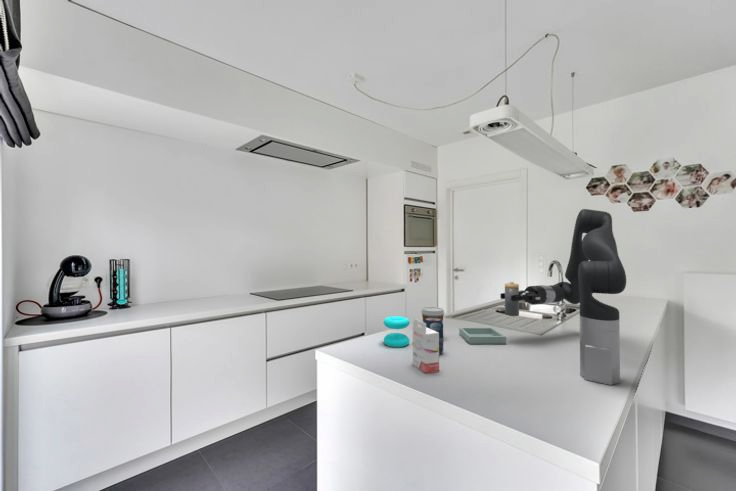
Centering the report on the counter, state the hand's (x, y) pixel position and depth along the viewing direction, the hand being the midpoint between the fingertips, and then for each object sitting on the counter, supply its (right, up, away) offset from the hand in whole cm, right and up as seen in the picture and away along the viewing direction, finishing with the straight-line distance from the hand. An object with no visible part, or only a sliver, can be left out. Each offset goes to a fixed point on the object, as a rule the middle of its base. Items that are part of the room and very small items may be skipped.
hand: (506, 297), depth 124 cm
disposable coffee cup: (-27, -18, +7) cm, 34 cm away
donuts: (-43, -18, -1) cm, 47 cm away
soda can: (-31, -18, -11) cm, 37 cm away
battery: (+3, -7, +1) cm, 7 cm away
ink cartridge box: (-36, -18, -25) cm, 47 cm away
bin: (-8, -18, +5) cm, 20 cm away
